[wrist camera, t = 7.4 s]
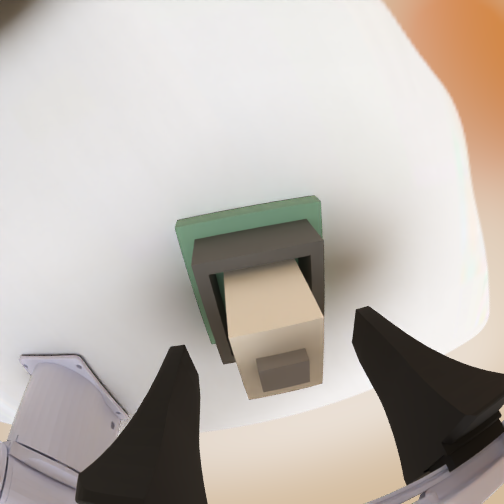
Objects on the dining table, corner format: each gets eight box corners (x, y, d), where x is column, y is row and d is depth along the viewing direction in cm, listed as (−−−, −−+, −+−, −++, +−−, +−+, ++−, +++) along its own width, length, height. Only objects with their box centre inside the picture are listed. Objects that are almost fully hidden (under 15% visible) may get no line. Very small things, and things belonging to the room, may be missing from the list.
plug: (291, 301, 16) (326, 393, 10) (237, 312, 16) (250, 411, 10) (284, 239, 14) (329, 329, 8) (222, 252, 14) (229, 351, 8)
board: (318, 312, 18) (336, 349, 15) (211, 333, 18) (212, 374, 15) (314, 195, 14) (340, 219, 11) (177, 220, 14) (167, 252, 11)
